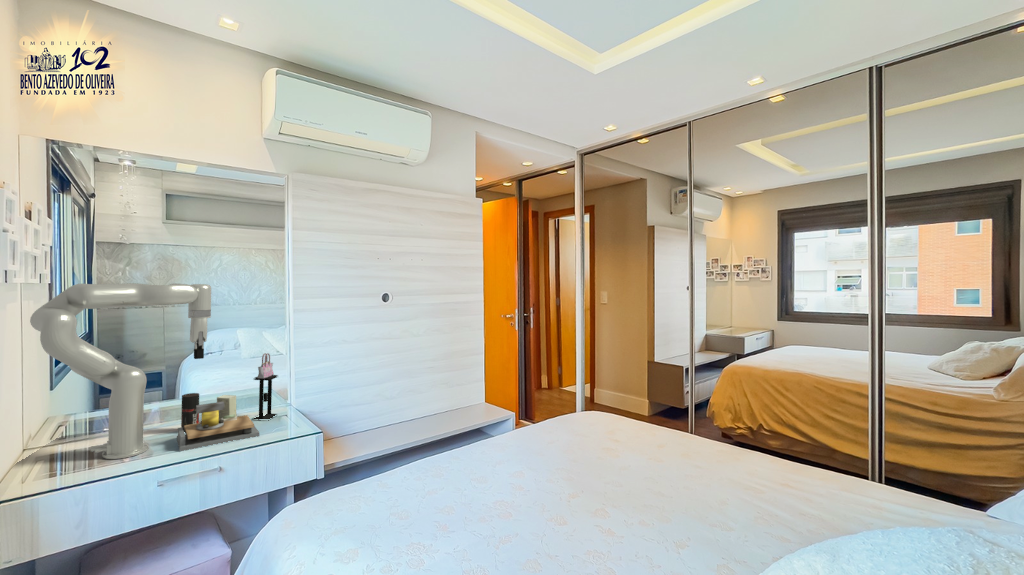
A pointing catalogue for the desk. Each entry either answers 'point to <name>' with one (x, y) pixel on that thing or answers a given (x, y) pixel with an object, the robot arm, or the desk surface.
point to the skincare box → (227, 405)
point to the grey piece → (213, 438)
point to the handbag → (268, 375)
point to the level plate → (225, 428)
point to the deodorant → (189, 409)
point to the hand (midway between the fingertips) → (198, 358)
